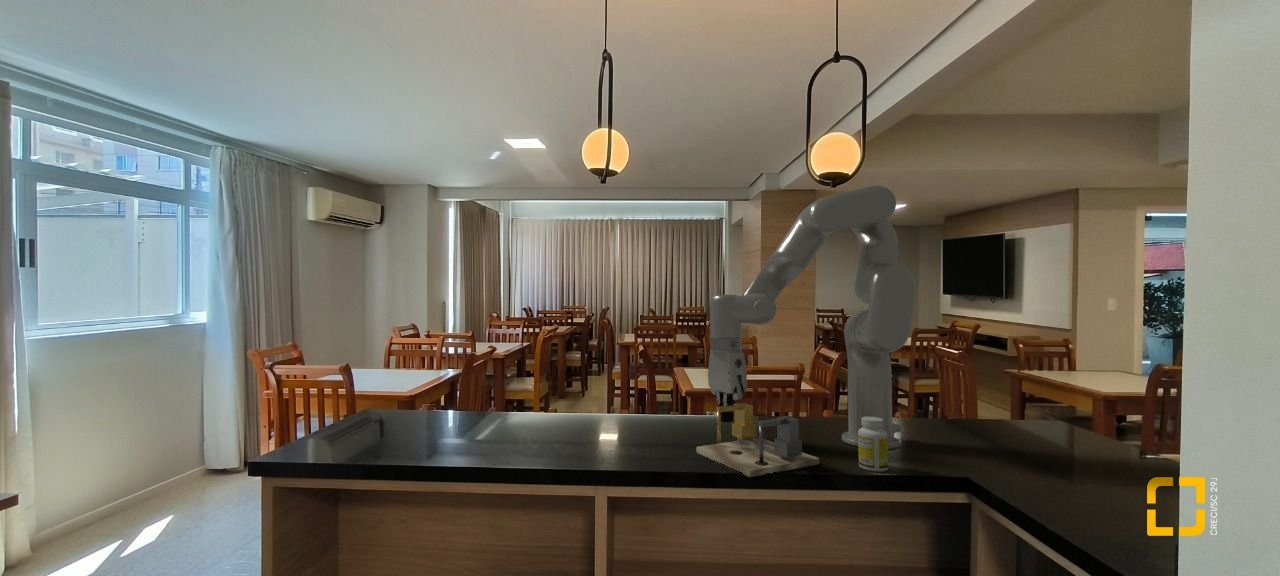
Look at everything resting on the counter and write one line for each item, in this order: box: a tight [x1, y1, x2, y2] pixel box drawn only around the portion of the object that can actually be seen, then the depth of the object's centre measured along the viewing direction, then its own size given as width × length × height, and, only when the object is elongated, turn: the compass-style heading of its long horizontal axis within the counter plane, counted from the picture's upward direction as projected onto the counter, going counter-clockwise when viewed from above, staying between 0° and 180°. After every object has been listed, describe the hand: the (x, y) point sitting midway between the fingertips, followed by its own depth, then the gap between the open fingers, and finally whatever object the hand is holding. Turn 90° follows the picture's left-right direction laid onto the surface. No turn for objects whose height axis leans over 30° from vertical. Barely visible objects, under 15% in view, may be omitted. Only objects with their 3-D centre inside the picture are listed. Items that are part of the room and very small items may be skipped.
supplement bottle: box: [857, 417, 889, 473], centre depth 98 cm, size 5×5×10 cm
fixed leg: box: [757, 415, 803, 463], centre depth 98 cm, size 9×4×8 cm, turn 117°
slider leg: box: [715, 402, 757, 444], centre depth 111 cm, size 9×4×8 cm, turn 117°
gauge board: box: [695, 437, 820, 478], centre depth 104 cm, size 18×18×2 cm
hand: (726, 421), depth 118 cm, fingers closed
